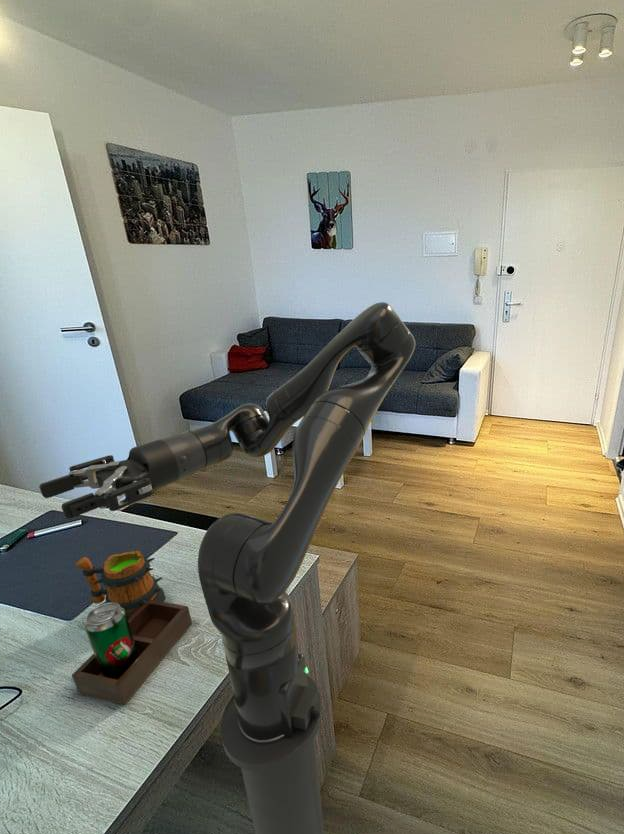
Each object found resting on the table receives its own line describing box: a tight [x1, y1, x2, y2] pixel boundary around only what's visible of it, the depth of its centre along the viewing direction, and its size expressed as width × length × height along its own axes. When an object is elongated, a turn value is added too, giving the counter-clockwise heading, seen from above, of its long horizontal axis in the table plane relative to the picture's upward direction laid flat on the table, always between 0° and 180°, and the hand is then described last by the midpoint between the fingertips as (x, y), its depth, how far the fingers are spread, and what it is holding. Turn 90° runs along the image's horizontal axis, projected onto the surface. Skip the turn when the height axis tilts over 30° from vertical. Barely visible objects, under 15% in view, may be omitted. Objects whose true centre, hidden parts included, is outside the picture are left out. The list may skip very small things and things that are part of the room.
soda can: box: [84, 602, 139, 680], centre depth 66 cm, size 5×5×12 cm
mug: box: [75, 549, 166, 619], centre depth 78 cm, size 13×10×12 cm
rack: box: [71, 599, 193, 706], centre depth 71 cm, size 8×15×4 cm, turn 169°
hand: (52, 501), depth 60 cm, fingers open, 8 cm apart
